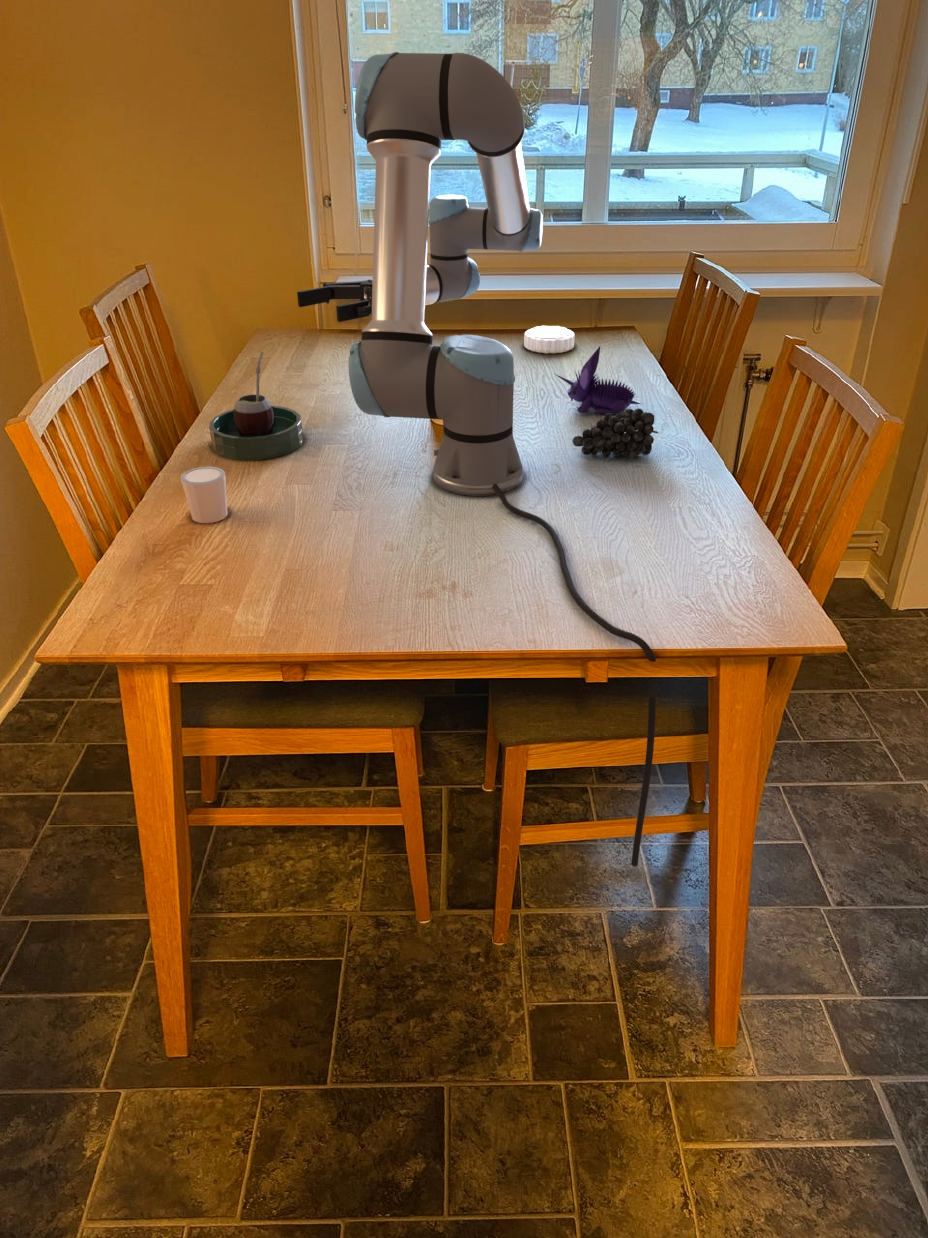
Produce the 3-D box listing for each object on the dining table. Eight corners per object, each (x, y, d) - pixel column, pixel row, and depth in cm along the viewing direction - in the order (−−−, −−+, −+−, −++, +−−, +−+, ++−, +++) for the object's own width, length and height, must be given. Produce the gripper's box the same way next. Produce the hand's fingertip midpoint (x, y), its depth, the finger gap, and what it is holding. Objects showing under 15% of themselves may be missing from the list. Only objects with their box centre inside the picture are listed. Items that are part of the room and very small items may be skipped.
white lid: (547, 335, 230) (548, 321, 228) (584, 346, 223) (585, 331, 221) (513, 345, 224) (513, 330, 222) (550, 357, 216) (550, 341, 214)
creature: (553, 399, 192) (556, 340, 186) (641, 404, 190) (647, 344, 183) (549, 415, 185) (552, 354, 178) (641, 420, 183) (647, 358, 176)
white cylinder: (220, 526, 146) (213, 485, 142) (180, 522, 147) (172, 482, 143) (238, 507, 152) (232, 467, 148) (199, 503, 153) (191, 464, 149)
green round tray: (305, 456, 169) (303, 434, 167) (211, 463, 166) (207, 441, 164) (300, 422, 183) (298, 402, 180) (214, 429, 180) (210, 408, 178)
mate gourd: (242, 450, 170) (230, 369, 162) (233, 435, 176) (221, 356, 168) (282, 443, 173) (273, 363, 164) (272, 429, 179) (262, 351, 170)
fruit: (574, 410, 162) (661, 408, 161) (570, 409, 170) (653, 406, 169) (574, 461, 164) (660, 458, 163) (570, 457, 172) (652, 455, 171)
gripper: (450, 320, 177) (356, 341, 165) (375, 295, 193) (285, 313, 182) (449, 279, 173) (354, 298, 161) (373, 257, 189) (281, 273, 178)
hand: (317, 306), depth 172 cm, fingers open, 13 cm apart
